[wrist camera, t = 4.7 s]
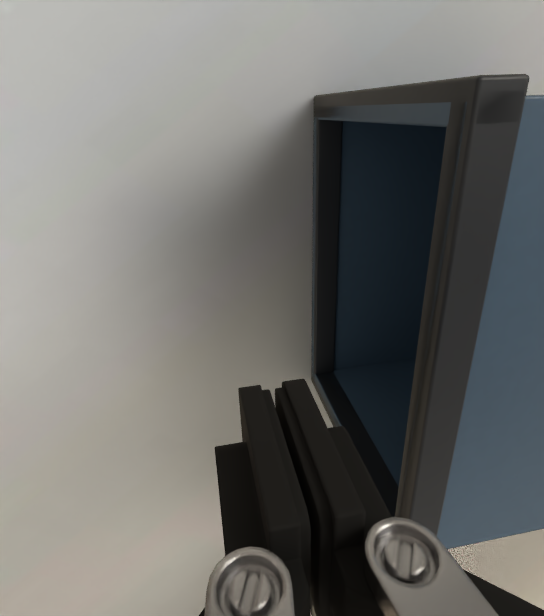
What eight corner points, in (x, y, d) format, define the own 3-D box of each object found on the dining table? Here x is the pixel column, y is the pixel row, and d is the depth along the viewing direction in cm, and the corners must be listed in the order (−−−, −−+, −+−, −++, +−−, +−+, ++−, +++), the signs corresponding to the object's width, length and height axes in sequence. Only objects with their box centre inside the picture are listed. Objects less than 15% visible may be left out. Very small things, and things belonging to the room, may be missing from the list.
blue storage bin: (490, 89, 21) (828, 65, 10) (444, 362, 27) (614, 525, 17) (313, 95, 19) (479, 75, 8) (311, 380, 26) (401, 572, 15)
